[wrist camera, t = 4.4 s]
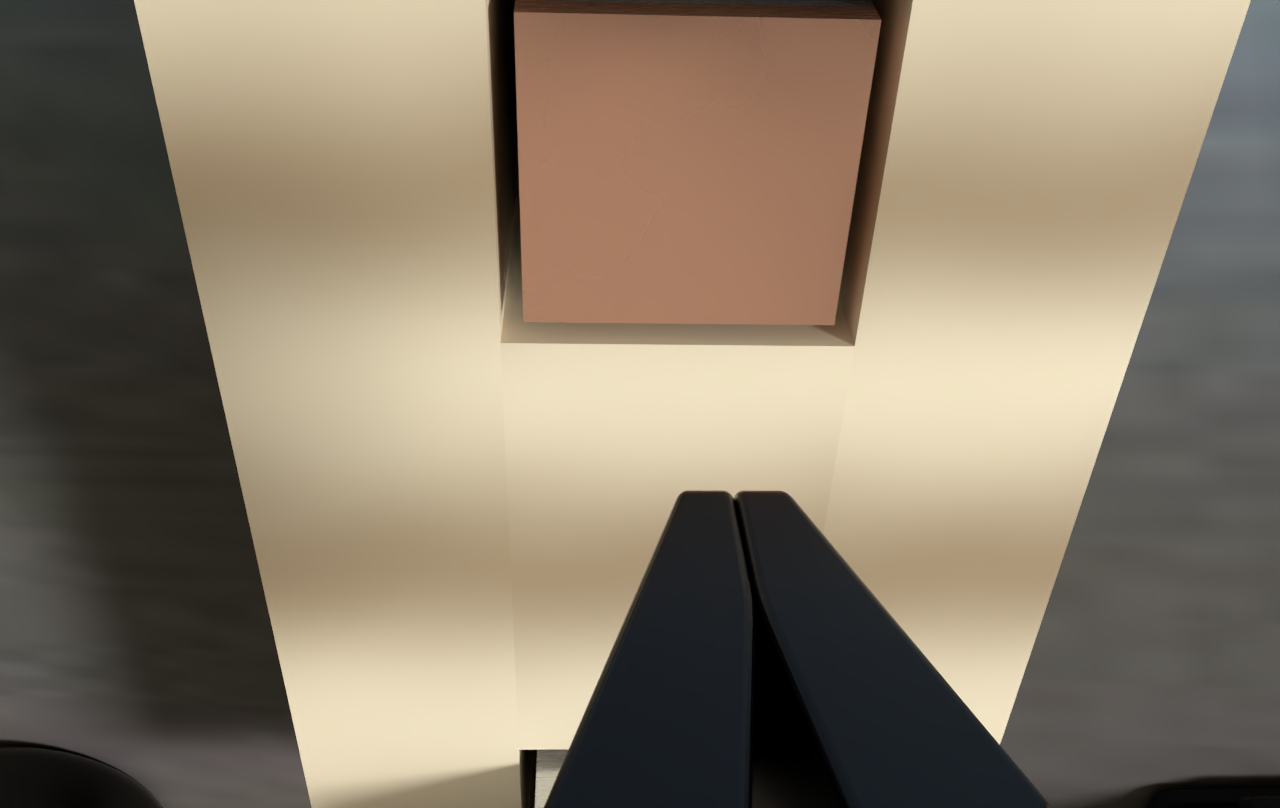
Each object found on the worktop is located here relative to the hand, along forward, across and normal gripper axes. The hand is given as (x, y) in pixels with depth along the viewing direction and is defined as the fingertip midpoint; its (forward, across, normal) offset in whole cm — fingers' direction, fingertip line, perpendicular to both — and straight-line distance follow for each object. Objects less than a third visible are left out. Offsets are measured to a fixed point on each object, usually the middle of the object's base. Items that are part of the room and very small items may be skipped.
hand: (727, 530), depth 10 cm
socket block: (+12, 0, +7) cm, 14 cm away
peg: (+12, 0, 0) cm, 12 cm away
